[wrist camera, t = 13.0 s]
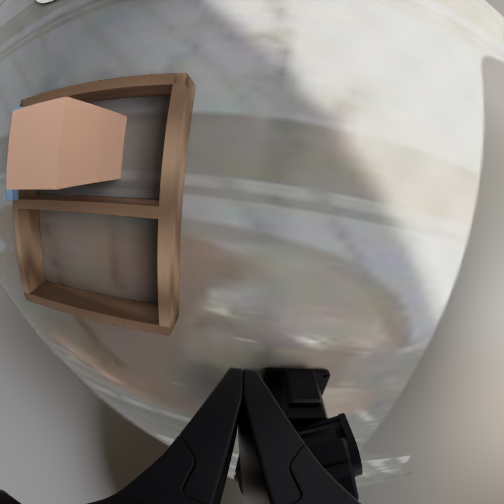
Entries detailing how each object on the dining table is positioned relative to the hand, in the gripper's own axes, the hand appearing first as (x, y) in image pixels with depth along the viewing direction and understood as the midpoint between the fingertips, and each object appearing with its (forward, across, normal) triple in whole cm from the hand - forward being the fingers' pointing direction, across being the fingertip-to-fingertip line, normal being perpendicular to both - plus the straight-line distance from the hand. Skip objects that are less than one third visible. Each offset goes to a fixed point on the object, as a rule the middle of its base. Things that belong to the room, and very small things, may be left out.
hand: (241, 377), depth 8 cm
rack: (+13, +13, -3) cm, 19 cm away
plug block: (+13, +13, -7) cm, 20 cm away
